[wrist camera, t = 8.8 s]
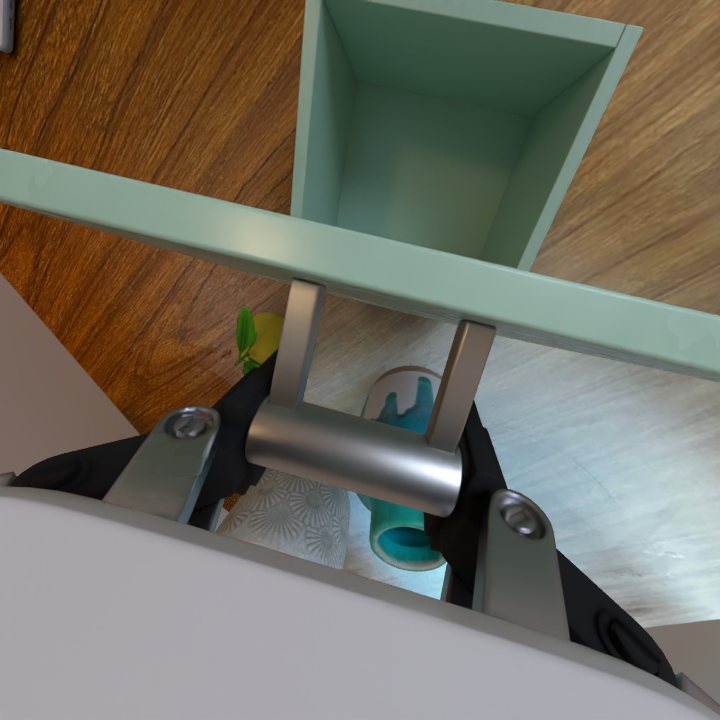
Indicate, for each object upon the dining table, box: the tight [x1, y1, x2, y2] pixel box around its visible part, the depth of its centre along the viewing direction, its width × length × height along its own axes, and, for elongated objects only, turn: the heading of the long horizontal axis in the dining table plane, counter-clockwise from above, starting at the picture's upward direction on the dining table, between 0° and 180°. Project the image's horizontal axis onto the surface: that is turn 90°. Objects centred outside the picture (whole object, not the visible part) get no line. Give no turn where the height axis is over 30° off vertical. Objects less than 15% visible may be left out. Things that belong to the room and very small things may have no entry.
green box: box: [290, 0, 643, 271], centre depth 21 cm, size 15×16×11 cm
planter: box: [215, 468, 350, 571], centre depth 39 cm, size 17×17×15 cm
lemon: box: [235, 305, 284, 375], centre depth 30 cm, size 7×6×10 cm
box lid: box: [0, 148, 720, 517], centre depth 12 cm, size 15×16×6 cm
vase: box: [357, 366, 447, 571], centre depth 27 cm, size 11×11×19 cm
